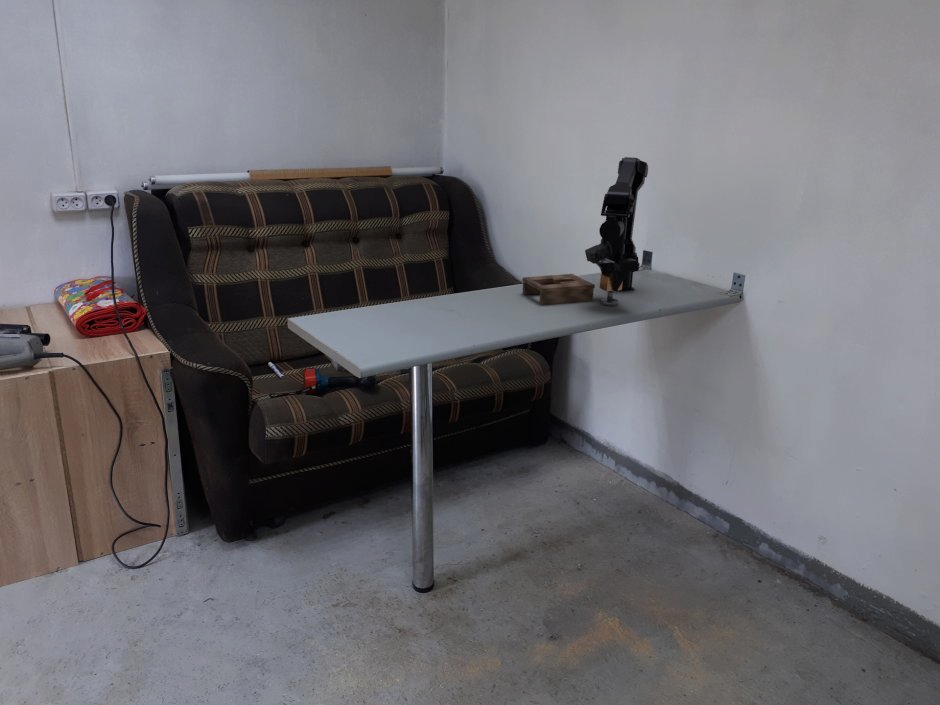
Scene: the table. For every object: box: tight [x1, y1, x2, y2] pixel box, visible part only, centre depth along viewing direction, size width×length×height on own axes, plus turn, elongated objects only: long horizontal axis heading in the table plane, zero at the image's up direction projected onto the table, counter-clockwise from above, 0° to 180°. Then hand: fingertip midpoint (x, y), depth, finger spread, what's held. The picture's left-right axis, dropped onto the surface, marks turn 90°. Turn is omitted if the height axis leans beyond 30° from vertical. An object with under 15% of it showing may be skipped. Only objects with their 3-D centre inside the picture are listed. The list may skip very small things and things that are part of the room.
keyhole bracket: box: [521, 273, 596, 306], centre depth 215 cm, size 17×14×5 cm
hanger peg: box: [599, 273, 623, 307], centre depth 208 cm, size 5×5×8 cm
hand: (610, 288), depth 208 cm, fingers open, 5 cm apart
